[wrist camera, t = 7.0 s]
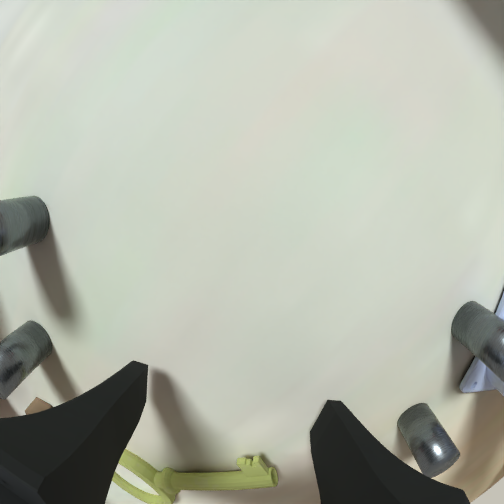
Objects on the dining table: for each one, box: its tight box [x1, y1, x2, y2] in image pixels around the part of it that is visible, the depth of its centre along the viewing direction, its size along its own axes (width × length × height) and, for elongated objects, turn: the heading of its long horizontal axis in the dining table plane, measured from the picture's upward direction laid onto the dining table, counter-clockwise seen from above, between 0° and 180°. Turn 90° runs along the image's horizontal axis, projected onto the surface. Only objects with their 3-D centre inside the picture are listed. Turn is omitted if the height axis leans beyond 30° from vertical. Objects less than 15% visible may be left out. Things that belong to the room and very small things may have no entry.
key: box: [112, 449, 278, 504], centre depth 12 cm, size 7×12×2 cm, turn 129°
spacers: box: [0, 196, 504, 478], centre depth 9 cm, size 22×8×4 cm, turn 76°
